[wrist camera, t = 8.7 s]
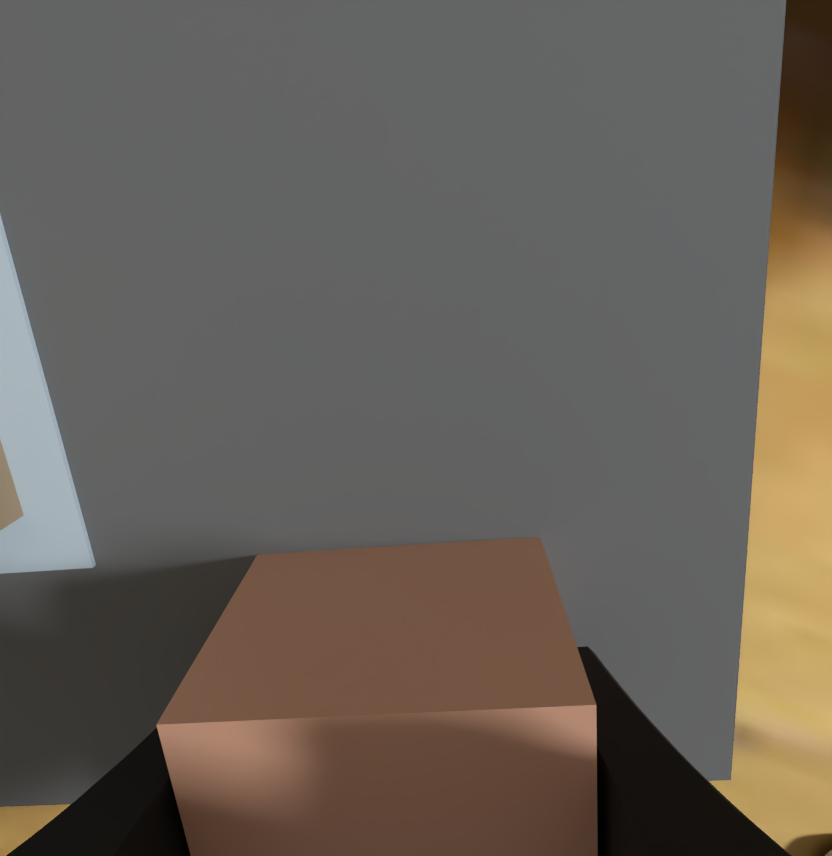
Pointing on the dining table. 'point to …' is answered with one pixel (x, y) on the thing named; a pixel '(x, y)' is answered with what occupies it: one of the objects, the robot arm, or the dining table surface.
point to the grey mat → (374, 328)
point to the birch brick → (7, 494)
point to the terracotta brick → (388, 709)
